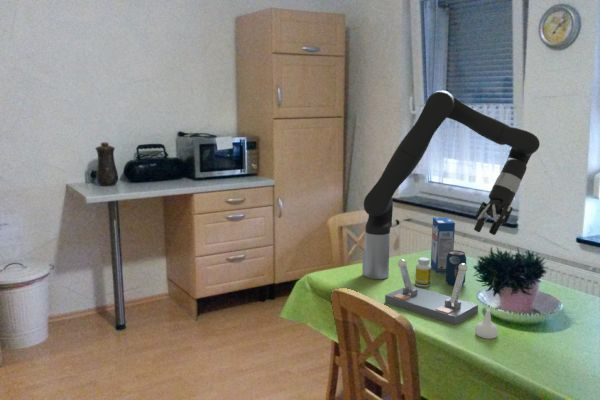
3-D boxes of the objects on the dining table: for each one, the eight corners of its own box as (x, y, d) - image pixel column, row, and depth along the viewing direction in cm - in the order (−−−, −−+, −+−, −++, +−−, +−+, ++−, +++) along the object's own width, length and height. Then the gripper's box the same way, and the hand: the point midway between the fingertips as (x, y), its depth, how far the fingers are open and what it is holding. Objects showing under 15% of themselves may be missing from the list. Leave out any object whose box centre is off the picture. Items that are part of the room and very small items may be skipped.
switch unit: (385, 302, 185) (385, 289, 184) (409, 291, 194) (409, 280, 194) (455, 324, 166) (455, 311, 166) (477, 312, 176) (478, 299, 175)
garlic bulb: (470, 334, 161) (470, 309, 159) (485, 328, 164) (485, 303, 162) (487, 343, 155) (487, 317, 154) (502, 336, 158) (503, 310, 157)
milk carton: (452, 273, 215) (455, 223, 211) (436, 273, 215) (438, 223, 211) (446, 265, 225) (448, 217, 221) (430, 265, 225) (432, 217, 221)
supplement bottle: (430, 287, 199) (431, 261, 197) (415, 286, 200) (416, 260, 198) (430, 282, 204) (431, 257, 202) (415, 281, 205) (416, 256, 203)
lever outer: (447, 301, 174) (458, 261, 176) (451, 302, 176) (462, 263, 178) (455, 303, 172) (466, 263, 174) (459, 305, 174) (470, 265, 176)
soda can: (457, 288, 198) (459, 256, 196) (441, 283, 203) (442, 252, 201) (468, 284, 202) (470, 252, 200) (452, 279, 207) (453, 248, 205)
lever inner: (404, 292, 185) (395, 262, 179) (408, 287, 187) (400, 257, 181) (411, 294, 183) (402, 263, 177) (415, 289, 185) (407, 258, 179)
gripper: (483, 183, 190) (463, 225, 188) (509, 184, 176) (488, 229, 175) (500, 193, 192) (480, 235, 190) (527, 195, 178) (506, 240, 177)
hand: (484, 232), depth 183 cm, fingers open, 8 cm apart
